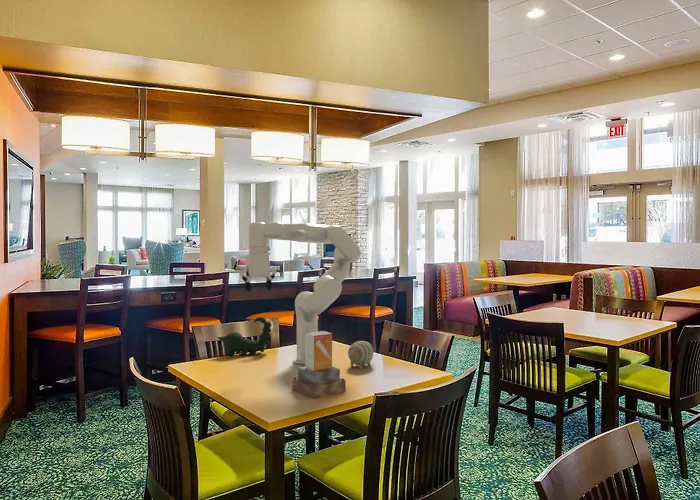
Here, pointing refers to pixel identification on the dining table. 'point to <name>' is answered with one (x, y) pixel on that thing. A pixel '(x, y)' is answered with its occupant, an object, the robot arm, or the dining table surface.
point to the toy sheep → (360, 353)
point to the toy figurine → (247, 340)
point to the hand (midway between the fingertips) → (258, 290)
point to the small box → (318, 350)
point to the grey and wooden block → (319, 382)
